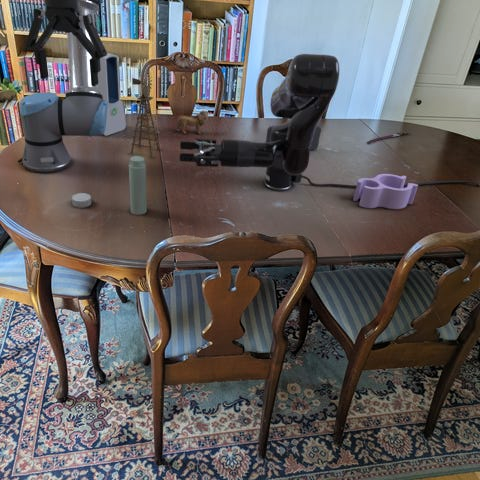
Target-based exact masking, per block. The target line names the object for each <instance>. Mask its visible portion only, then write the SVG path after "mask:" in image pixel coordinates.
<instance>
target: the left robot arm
mask: <svg viewBox="0 0 480 480" xmlns="http://www.w3.org/2000/svg"><path fill="white" fill-rule="evenodd" d="M43 1H44V6H45V9H43V8H42V7H36V8H33V10H32V17H33V19H32V22H31V25H30V28H29V31H28V35H27V38H26V41H25V47H26V48H27V49H31V50H32V51H33V53H34V61H35V64H36V65H38V69H39V75H40V80H45V79H47V78H49V76H50V75H49V67H48V60H47V51H46V50H44V47H45V46H46V44H47V43H48V41H49V40H50V38H51V37H52V35H53V34H54V32H59V33H61V32H63V33H65V34H67V35H66V38H67V55H68V75H69V76H68V77H69V89H67V90H66V91H65V98H59V96H58V94H56V93H54V92H51V91H42V92H36V93H32V94H28V95H25V96H23V97H22V98H21V99H20V101H19V103H18V104H19V116H20V119H21V126H22V132H23V137H24V148H23V153H22V157H20V159H18V160H17V163H18V164H20V163H22V166H23V168H24V169H25V170H27V171H29V172H33V173H39V174H46V173H56V172H61V171H63V170H66V169H67V168H69V167H70V166H71V163H72V159H71V155H70V153H69V151H68V150H67V149H68V148H67V147H66V145H65V143H64V140H63V136H65V137H70V136H71V137H89V138H91V137H100V136H104V135H103V134H104V132H105V128H106V120H107V101H106V100H103V95H102V94H101V93H100V92H99V91H98V89H97V84H98V72H100V70H101V67H100V58H102V57H105V56H106V55H107V53H108V52H107V49H106V47H105V45H104V44H103V41H102V39H101V37H100V36H99V35H100V34H99V33H98V31H97V29H96V27H95V14H96V13H97V12H98V11H99V9H100V7H99V5H101V4H104V0H43ZM45 18H46V19H47V21H48V23H47V24H46V26H45V27H44V28H45V29H44V30H43V32H42V33H41V34H40V31H41V29H42V26H43V22H44V19H45ZM39 34H40V36H39Z"/></svg>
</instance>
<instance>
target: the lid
mask: <svg viewBox="0 0 480 480" xmlns="http://www.w3.org/2000/svg"><path fill="white" fill-rule="evenodd" d="M71 201H72V203H71V204H72V206H73V207H75V208H79V209H80V208H81V209H83V208H87V207H90V206H91V205H92V197H91V195H90V194H88V193H85V192H79V193H75V194H73V195H72V198H71Z"/></svg>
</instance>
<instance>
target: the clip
mask: <svg viewBox="0 0 480 480" xmlns="http://www.w3.org/2000/svg"><path fill="white" fill-rule="evenodd" d="M406 180H407V175H401V176H400V175H396V174H392V173H381V174H380V173H379V174H377V175H376V176H375V177H372V178H371V177H361V178H359V179H358V180H357V184H356V186H357V187H356V188H355V191H354V196H353V198H352V200H353V202H358V200H359V199H360V200H359V203H358V206H359V207H361V208H365V209H375V208H386V209H390V210H402V209H405V208H406V207H407V206H408V205H413V202H414V199H415V196H416V193H417V191H418V187H419V185H417V183H412V182H408V183H407V184H408V185H407V184H406V185H407V187H403V186H404V185H405V183H406Z"/></svg>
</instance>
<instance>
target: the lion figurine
mask: <svg viewBox="0 0 480 480" xmlns="http://www.w3.org/2000/svg"><path fill="white" fill-rule="evenodd" d="M208 119H209V112H208V111H206V110H200V111H199V113H198V114H196V115H195V116H192V117H189V116H187V115H183V116H180V117H179V118H178V119H177V122H176V126H175V129H174V130H173V132H180V131H182V133H183V134H184V135H185V134H187V131H185V128H186V125H187V126H189V127H195V129H194V130H195V132H197V134H199V135H201V134H202V132H201V131H200V130H201V127H204V126H205V124H206V123H207V122H208ZM180 127H181V129H180Z"/></svg>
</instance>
